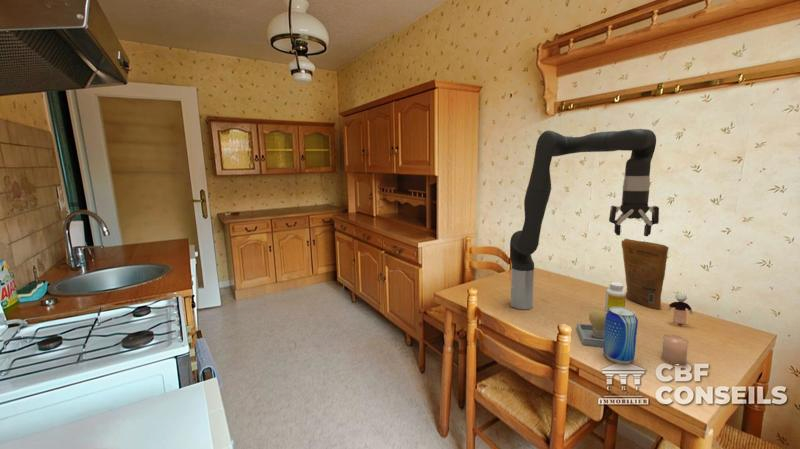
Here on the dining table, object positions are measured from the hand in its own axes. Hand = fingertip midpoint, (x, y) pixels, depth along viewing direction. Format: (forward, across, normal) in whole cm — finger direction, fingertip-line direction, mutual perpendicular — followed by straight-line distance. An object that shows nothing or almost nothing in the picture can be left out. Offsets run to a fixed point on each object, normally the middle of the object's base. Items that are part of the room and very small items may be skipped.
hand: (631, 235), depth 121 cm
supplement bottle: (+36, +1, +16) cm, 40 cm away
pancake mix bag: (+36, +15, +31) cm, 50 cm away
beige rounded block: (+36, +9, -17) cm, 41 cm away
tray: (+36, -10, -8) cm, 38 cm away
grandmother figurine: (+36, +21, +11) cm, 43 cm away
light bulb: (+36, -10, -8) cm, 38 cm away
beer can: (+36, -7, -20) cm, 42 cm away
